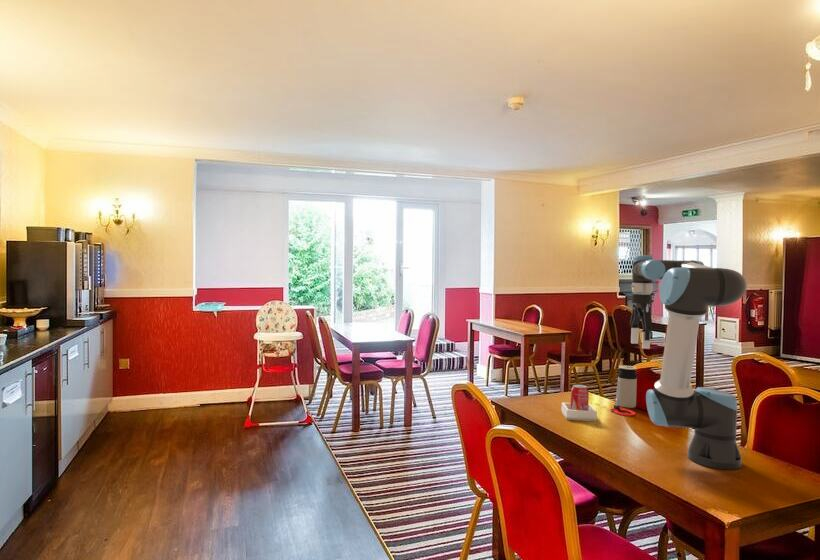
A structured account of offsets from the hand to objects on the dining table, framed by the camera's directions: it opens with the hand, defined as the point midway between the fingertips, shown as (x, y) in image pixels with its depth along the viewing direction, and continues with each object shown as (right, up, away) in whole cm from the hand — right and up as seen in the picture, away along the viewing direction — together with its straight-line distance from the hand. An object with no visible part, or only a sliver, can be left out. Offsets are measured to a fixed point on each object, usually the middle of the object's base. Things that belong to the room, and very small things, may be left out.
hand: (640, 346), depth 203 cm
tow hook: (0, -32, +16) cm, 35 cm away
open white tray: (-22, -31, +9) cm, 39 cm away
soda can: (-22, -30, +9) cm, 38 cm away
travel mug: (+7, -32, +28) cm, 43 cm away
